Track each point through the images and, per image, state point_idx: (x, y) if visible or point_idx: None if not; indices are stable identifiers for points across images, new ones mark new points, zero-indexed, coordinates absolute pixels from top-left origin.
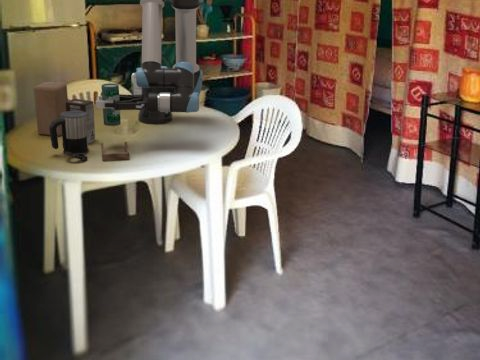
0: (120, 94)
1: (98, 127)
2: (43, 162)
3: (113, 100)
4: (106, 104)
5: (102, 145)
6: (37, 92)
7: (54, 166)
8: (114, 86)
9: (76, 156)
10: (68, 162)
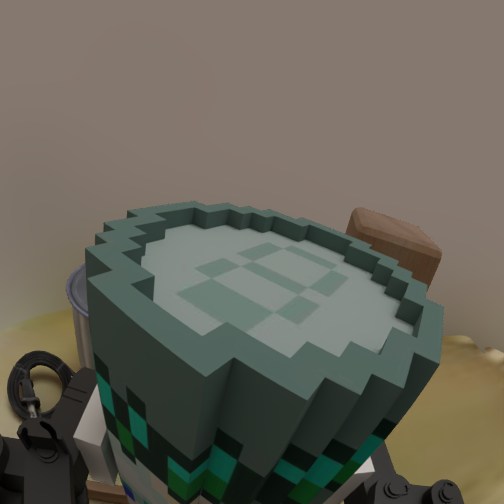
0: (449, 497)
1: (426, 455)
2: (64, 328)
3: (34, 419)
4: (71, 384)
5: (100, 487)
6: (349, 224)
7: (21, 341)
8: (136, 289)
9: (10, 375)
10: (32, 374)
